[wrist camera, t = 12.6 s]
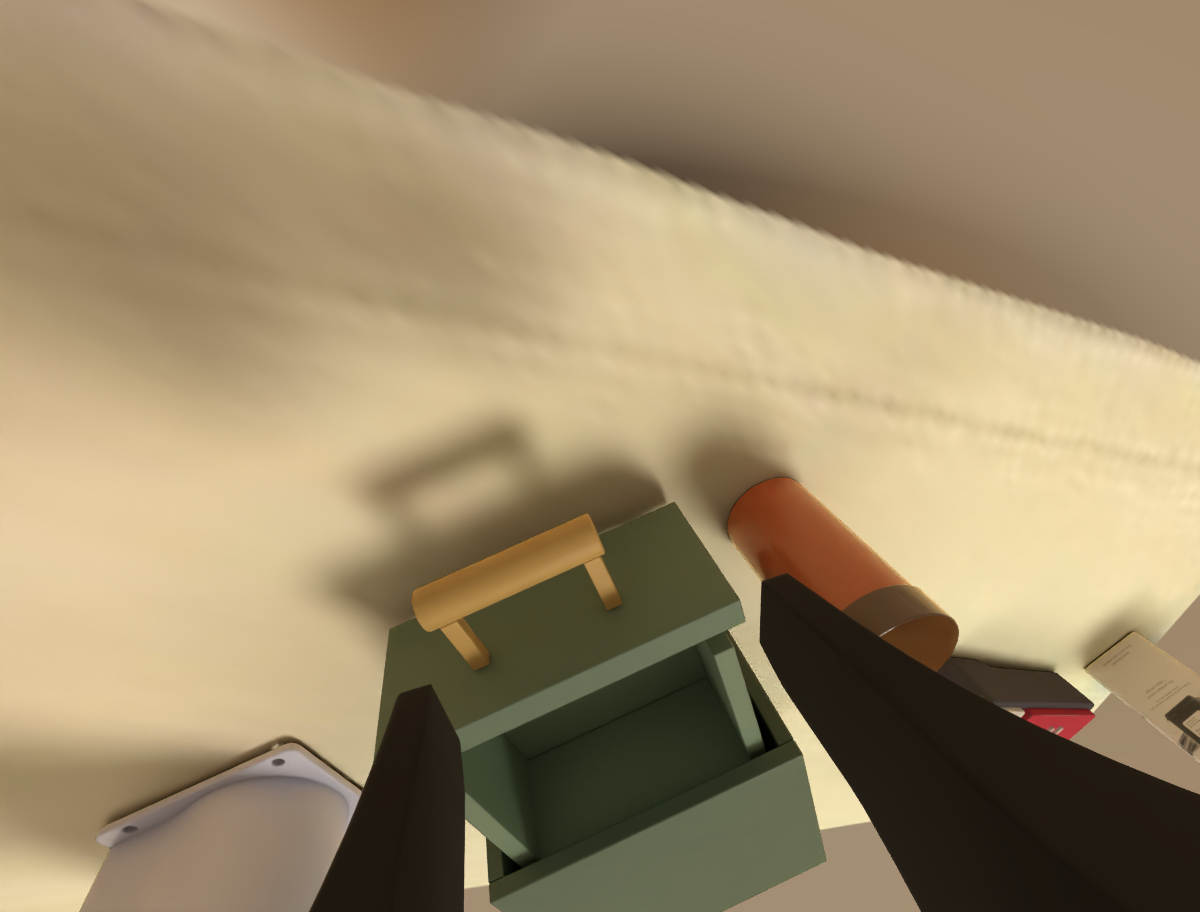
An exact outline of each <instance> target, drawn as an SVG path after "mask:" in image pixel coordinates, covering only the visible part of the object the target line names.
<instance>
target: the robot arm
mask: <svg viewBox="0 0 1200 912" xmlns="http://www.w3.org/2000/svg"><path fill="white" fill-rule="evenodd" d="M760 644H761V646H762V648H763V650H764V652H765V654H766V656H767V658H768V660H769V661H770V663H771V665H772V667H773V669H774V671H775V673H776V675H777V677H778V678H779V680H780V682H781V684H782V686H783V687H784V689H785V690H786V692H787V693H788V695H789V696H790V698H791V699H792V701H793V702H794V704H795V705H796V707H797V708H798V710H799V711H800V713H801V714H802V716H803V717H804V719H805V720H806V722H807V723H808V725H809V726H810V728H811V729H812V731H813V732H814V734H815V735H816V737H817V738H818V739H819V741H820V742H821V744H822V745H823V747H824V748H825V750H826V751H827V753H828V754H829V756H830V757H831V759H832V760H833V762H834V763H835V765H836V766H837V767H838V769H839V770H840V772H841V773H842V775H843V776H844V778H845V779H846V781H847V782H848V784H849V785H850V787H851V788H852V790H853V792H854V793H855V795H856V796H857V798H858V799H859V801H860V803H861V804H862V806H863V807H864V809H865V811H866V813H867V814H868V816H869V818H870V820H871V822H872V823H873V825H874V827H875V828H876V830H877V832H878V834H879V836H880V837H881V839H882V841H883V843H884V845H885V846H886V848H887V850H888V852H889V853H890V855H891V857H892V859H893V861H894V862H895V864H896V866H897V868H898V870H899V872H900V873H901V875H902V877H903V879H904V881H905V883H906V885H907V886H908V888H909V890H910V892H911V894H912V896H913V897H914V899H915V901H916V903H917V905H918V907H919V909H920V910H921V912H1200V795H1199V794H1197V793H1194V792H1191V791H1189V790H1186V789H1183V788H1181V787H1178V786H1176V785H1173V784H1171V783H1168V782H1166V781H1163V780H1161V779H1158V778H1156V777H1153V776H1151V775H1148V774H1146V773H1144V772H1141V771H1139V770H1136V769H1134V768H1131V767H1129V766H1126V765H1124V764H1122V763H1119V762H1117V761H1115V760H1112V759H1110V758H1108V757H1105V756H1103V755H1101V754H1098V753H1096V752H1094V751H1092V750H1090V749H1088V748H1085V747H1083V746H1081V745H1079V744H1077V743H1074V742H1072V741H1070V740H1068V739H1066V738H1063V737H1061V736H1059V735H1057V734H1055V733H1052V732H1050V731H1048V730H1046V729H1044V728H1041V727H1039V726H1037V725H1035V724H1033V723H1031V722H1029V721H1027V720H1025V719H1023V718H1021V717H1019V716H1017V715H1015V714H1013V713H1011V712H1009V711H1007V710H1005V709H1003V708H1001V707H999V706H997V705H995V704H993V703H991V702H989V701H988V700H986V699H984V698H982V697H980V696H978V695H976V694H974V693H972V692H971V691H969V690H967V689H965V688H963V687H962V686H960V685H958V684H956V683H954V682H953V681H951V680H949V679H948V678H946V677H944V676H942V675H941V674H939V673H937V672H936V671H934V670H932V669H931V668H929V667H927V666H926V665H924V664H922V663H921V662H919V661H917V660H916V659H914V658H912V657H911V656H909V655H907V654H906V653H904V652H903V651H901V650H899V649H898V648H896V647H895V646H893V645H892V644H890V643H889V642H887V641H885V640H884V639H882V638H881V637H879V636H878V635H876V634H875V633H873V632H872V631H870V630H869V629H867V628H866V627H864V626H863V625H861V624H860V623H858V622H857V621H855V620H854V619H852V618H851V617H849V616H848V615H846V614H845V613H844V612H842V611H841V610H839V609H838V608H836V607H835V606H833V605H832V604H831V603H829V602H828V601H826V600H825V599H824V598H822V597H821V596H819V595H818V594H816V593H815V592H814V591H812V590H811V589H809V588H808V587H807V586H805V585H804V584H802V583H801V582H800V581H798V580H797V579H795V578H794V577H792V576H791V575H789V574H788V573H785V574H782V575H779V576H776V577H772V578H769V579H766V580H763V581H762V586H761V614H760ZM95 839H96V842H98V843H99V844H101V845H104V846H106V847H108V848H110V850H109V852H108V854H107V856H106V858H105V860H104V862H103V864H102V866H101V868H100V870H99V872H98V874H97V876H96V879H95V881H94V883H93V885H92V887H91V889H90V891H89V893H88V895H87V897H86V899H85V901H84V903H83V905H82V907H81V909H80V911H79V912H464V856H465V788H464V776H463V764H462V754H461V744H460V739H459V737H458V735H457V733H456V731H455V730H454V728H453V726H452V724H451V722H450V720H449V718H448V716H447V714H446V712H445V710H444V708H443V706H442V704H441V702H440V700H439V698H438V696H437V694H436V693H435V691H434V689H433V687H432V685H431V684H428V685H425V686H422V687H418V688H415V689H412V690H409V691H406V692H402V693H400V694H399V695H398V697H397V698H396V701H395V704H394V707H393V710H392V713H391V716H390V718H389V721H388V724H387V727H386V730H385V733H384V736H383V738H382V741H381V744H380V747H379V749H378V752H377V755H376V757H375V760H374V763H373V765H372V768H371V771H370V773H369V776H368V778H367V781H366V783H365V786H364V788H363V791H361V790H360V789H358V788H357V787H356V786H354V785H353V784H352V783H350V782H349V781H348V780H346V779H345V778H344V777H342V776H341V775H339V774H338V773H337V772H335V771H334V770H333V769H331V768H330V767H329V766H327V765H326V764H325V763H323V762H322V761H321V760H319V759H318V758H317V757H315V756H314V755H313V754H311V753H310V752H309V751H307V750H306V749H305V748H303V747H302V746H301V745H299V744H297V743H288V744H284V745H282V746H280V747H278V748H276V749H273V750H271V751H269V752H267V753H265V754H262V755H260V756H258V757H256V758H254V759H251V760H249V761H247V762H245V763H242V764H240V765H238V766H236V767H234V768H231V769H229V770H227V771H225V772H223V773H220V774H218V775H216V776H214V777H212V778H209V779H207V780H205V781H203V782H201V783H198V784H196V785H194V786H192V787H190V788H187V789H185V790H183V791H181V792H179V793H176V794H174V795H172V796H170V797H168V798H165V799H163V800H161V801H159V802H156V803H154V804H152V805H150V806H148V807H145V808H143V809H141V810H139V811H137V812H134V813H132V814H130V815H128V816H126V817H123V818H121V819H119V820H117V821H115V822H112V823H110V824H108V825H106V826H104V827H102V828H101V829H100V830H99V832H98V834H97V836H96V838H95Z"/></svg>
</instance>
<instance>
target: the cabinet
mask: <svg viewBox="0 0 1200 912" xmlns="http://www.w3.org/2000/svg"><path fill="white" fill-rule="evenodd" d="M725 632H726V634H727V635H728V637H729V639H730V641H731V642H732V644H733V646H734V648H735V651H736V655H737V658H738V661H739V665H740V668H741V671H742V674H743V678H744V681H745V684H746V687H747V691H748V694H749V697H750V700H751V704H752V707H753V710H754V713H755V717H756V720H757V723H758V726H759V730H760V733H761V736H762V740H763V743H764V746H765V749H766V753H765V754H762V755H760V756H758V757H756V758H754V759H752V760H750V761H748V762H746V763H743V764H741V765H739V766H737V767H735V768H733V769H731V770H729V771H727V772H724V773H722V774H720V775H718V776H716V777H714V778H712V779H710V780H708V781H706V782H703V783H701V784H699V785H697V786H695V787H693V788H691V789H689V790H687V791H684V792H682V793H680V794H678V795H676V796H674V797H672V798H670V799H668V800H665V801H663V802H661V803H659V804H657V805H655V806H653V807H651V808H649V809H646V810H644V811H642V812H640V813H638V814H636V815H634V816H632V817H630V818H627V819H625V820H623V821H621V822H619V823H617V824H615V825H613V826H611V827H608V828H606V829H604V830H602V831H600V832H598V833H596V834H594V835H592V836H589V837H587V838H585V839H583V840H581V841H579V842H577V843H575V844H573V845H570V846H568V847H566V848H564V849H562V850H560V851H558V852H556V853H554V854H551V855H549V856H547V857H545V858H543V859H541V860H539V861H537V862H535V863H532V864H530V865H528V866H526V867H524V868H521V867H520V866H519V865H518V864H517V863H516V862H515V861H513V860H512V859H511V858H510V857H509V856H508V855H506V854H505V853H504V852H503V851H502V850H501V849H499V848H498V847H497V846H496V845H495V844H494V843H492V842H491V841H490V840H489V839H488V838H487V837H486V846H487V863H488V880H489V883H490V884H489V892H490V903H491V904H492V905H493V906H495V907H496V908H497V909H499V910H500V911H502V912H723V911H724V910H727V909H729V908H731V907H733V906H735V905H737V904H739V903H741V902H743V901H745V900H747V899H749V898H751V897H753V896H755V895H757V894H760V893H762V892H764V891H766V890H768V889H770V888H772V887H774V886H776V885H778V884H780V883H782V882H784V881H786V880H788V879H790V878H792V877H795V876H797V875H799V874H801V873H803V872H805V871H807V870H809V869H811V868H813V867H815V866H817V865H819V864H821V863H823V862H825V861H826V856H825V851H824V847H823V843H822V838H821V834H820V829H819V825H818V820H817V816H816V812H815V807H814V803H813V798H812V794H811V790H810V785H809V781H808V776H807V772H806V767H805V763H804V759H803V754H802V752H801V751H800V749H799V747H798V746H797V744H796V742H795V741H794V740H793V737H792V736H791V734H790V732H789V731H788V729H787V727H786V726H785V724H784V722H783V721H782V719H781V717H780V716H779V714H778V712H777V711H776V709H775V707H774V706H773V704H772V702H771V701H770V699H769V697H768V696H767V694H766V692H765V691H764V689H763V687H762V686H761V684H760V682H759V681H758V679H757V677H756V676H755V674H754V672H753V671H752V669H751V667H750V666H749V664H748V662H747V661H746V659H745V657H744V656H743V654H742V652H741V651H740V649H739V647H738V646H737V644H736V642H735V641H734V639H733V637H732V636H731V634H730V632H729V631H728V630H726V631H725Z"/></svg>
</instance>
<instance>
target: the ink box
mask: <svg viewBox="0 0 1200 912" xmlns="http://www.w3.org/2000/svg"><path fill="white" fill-rule="evenodd" d="M1085 670H1086V672H1088V673H1089V674H1090V675H1091V676H1092V677H1093V678H1095V679H1096V680H1097V681H1098V682H1100V683H1101V684H1102V685H1103V686H1104V687H1106V688H1107V689H1108V690H1109V691H1110V692H1112V693H1113V694H1114V695H1115V696H1117V697H1118V698H1119V699H1121V701H1123V702H1124V703H1125V704H1126V705H1128V706H1129V707H1130V708H1131V709H1132V710H1134V711H1135V712H1136V713H1137V714H1139V715H1140V716H1141V717H1142V718H1144V719H1145V720H1146V721H1147V722H1149V723H1150V724H1151V725H1152V726H1154V727H1155V728H1156V729H1158V730H1159V731H1160V732H1161V733H1162V734H1164V735H1165V736H1166V737H1167V738H1169V739H1170V740H1171V741H1172V742H1174V743H1175V744H1176V745H1177V746H1179V747H1180V748H1181V749H1182V750H1184V751H1185V752H1186V753H1187V754H1189V755H1190V756H1191V757H1192V758H1194V759H1195V760H1196V761H1197V762H1199V763H1200V676H1199V675H1198V674H1197V673H1195V672H1194V671H1192V670H1191V669H1189V668H1188V667H1186V666H1185V665H1183V664H1182V663H1180V662H1179V661H1177V660H1176V659H1175V658H1173V657H1172V656H1170V655H1169V654H1167V653H1166V652H1164V651H1163V650H1161V649H1160V648H1159V647H1157V646H1156V645H1154V644H1153V643H1151V642H1150V641H1148V640H1147V639H1145V638H1144V637H1142V636H1141V635H1139V634H1138V633H1137V632H1132V633H1131V634H1129V635H1128V636H1127V637H1125V638H1124V639H1123V640H1122V641H1120V642H1119V643H1118V644H1116V645H1115V646H1114V647H1112V648H1111V649H1110V650H1108V651H1107V652H1106V653H1104V654H1103V655H1102V656H1100V657H1099V658H1098V659H1096V660H1095V661H1094V662H1093V663H1091V664H1090V665H1089V666H1088V667H1087V668H1086V669H1085Z"/></svg>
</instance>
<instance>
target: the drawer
mask: <svg viewBox="0 0 1200 912" xmlns="http://www.w3.org/2000/svg"><path fill="white" fill-rule="evenodd" d="M412 606H413V610H414V613H415V616H416V618H413V619H411V620H409V621H407V622H405V623H402V624H400V625H398V626H396V627H393V628H391V629H390V630H389V637H388V646H387V654H386V662H385V670H384V679H383V687H382V695H381V703H380V712H379V720H378V728H377V736H376V745H375V753H374V760H375V757H376V755H377V752H378V749H379V747H380V744H381V741H382V738H383V736H384V733H385V730H386V727H387V724H388V721H389V718H390V716H391V713H392V710H393V707H394V704H395V701H396V698H397V697H398V695H399V694H400V693H402V692H406V691H409V690H412V689H415V688H418V687H422V686H425V685H428V684H431V685H432V687H433V689H434V691H435V693H436V694H437V696H438V698H439V700H440V702H441V704H442V706H443V708H444V710H445V712H446V714H447V716H448V718H449V720H450V722H451V724H452V726H453V728H454V730H455V731H456V733H457V735H458V737H459V739H460V744H461V754H462V764H463V776H464V788H465V819H466V820H467V821H468V822H469V823H470V824H471V825H473V826H474V827H475V828H476V829H477V830H478V831H480V832H481V833H482V834H483V835H484V836H485V837H487V838H488V839H489V840H490V841H491V842H492V843H494V844H495V845H496V846H497V847H498V848H499V849H501V850H502V851H503V852H504V853H505V854H506V855H508V856H509V857H510V858H511V859H512V860H513V861H515V862H516V863H517V864H518V865H519V866H520V867H521V868H524V867H526V866H528V865H530V864H532V863H535V862H537V861H539V860H541V859H543V858H545V857H547V856H549V855H551V854H554V853H556V852H558V851H560V850H562V849H564V848H566V847H568V846H570V845H573V844H575V843H577V842H579V841H581V840H583V839H585V838H587V837H589V836H592V835H594V834H596V833H598V832H600V831H602V830H604V829H606V828H608V827H611V826H613V825H615V824H617V823H619V822H621V821H623V820H625V819H627V818H630V817H632V816H634V815H636V814H638V813H640V812H642V811H644V810H646V809H649V808H651V807H653V806H655V805H657V804H659V803H661V802H663V801H665V800H668V799H670V798H672V797H674V796H676V795H678V794H680V793H682V792H684V791H687V790H689V789H691V788H693V787H695V786H697V785H699V784H701V783H703V782H706V781H708V780H710V779H712V778H714V777H716V776H718V775H720V774H722V773H724V772H727V771H729V770H731V769H733V768H735V767H737V766H739V765H741V764H743V763H746V762H748V761H750V760H752V759H754V758H756V757H758V756H760V755H762V754H765V753H766V749H765V746H764V743H763V740H762V736H761V733H760V730H759V726H758V723H757V720H756V717H755V713H754V710H753V707H752V704H751V700H750V697H749V694H748V691H747V687H746V684H745V681H744V678H743V674H742V671H741V668H740V665H739V661H738V658H737V655H736V651H735V648H734V646H733V644H732V642H731V641H730V639H729V637H728V635H727V634H726V632H725V631H726V630H728V629H730V628H733V627H735V626H737V625H739V624H741V623H743V622H745V617H744V613H743V610H742V606H741V602H740V599H739V598H738V596H737V595H736V593H735V592H734V590H733V589H732V587H731V586H730V584H729V583H728V581H727V580H726V578H725V577H724V575H723V574H722V572H721V571H720V569H719V568H718V566H717V565H716V563H715V562H714V560H713V559H712V557H711V556H710V554H709V553H708V551H707V550H706V548H705V547H704V545H703V544H702V542H701V541H700V539H699V538H698V536H697V535H696V533H695V532H694V530H693V529H692V527H691V526H690V524H689V523H688V521H687V520H686V518H685V517H684V515H683V514H682V512H681V511H680V509H679V508H678V506H677V505H676V503H675V502H673V503H670V504H668V505H666V506H664V507H661V508H659V509H657V510H655V511H652V512H650V513H648V514H646V515H644V516H641V517H639V518H637V519H635V520H632V521H630V522H628V523H626V524H623V525H621V526H619V527H617V528H614V529H612V530H610V531H608V532H606V533H603V534H601V535H599V536H598V533H597V531H596V529H595V526H594V524H593V522H592V520H591V518H590V516H589V514H584V515H582V516H580V517H577V518H575V519H573V520H571V521H568V522H566V523H564V524H562V525H559V526H557V527H555V528H553V529H550V530H548V531H546V532H544V533H541V534H539V535H537V536H535V537H532V538H530V539H528V540H526V541H523V542H521V543H519V544H517V545H514V546H512V547H510V548H508V549H505V550H503V551H501V552H499V553H496V554H494V555H492V556H490V557H487V558H485V559H483V560H481V561H478V562H476V563H474V564H472V565H469V566H467V567H465V568H463V569H461V570H458V571H456V572H454V573H452V574H449V575H447V576H445V577H443V578H440V579H438V580H436V581H434V582H431V583H429V584H427V585H425V586H422V587H420V588H418V589H416V590H415V591H414V592H413V593H412ZM373 763H374V761H373Z"/></svg>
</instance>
